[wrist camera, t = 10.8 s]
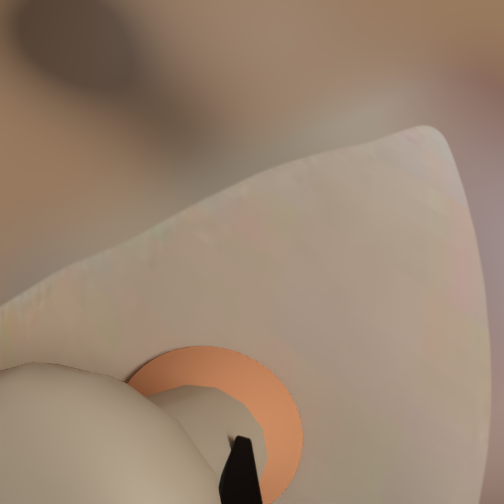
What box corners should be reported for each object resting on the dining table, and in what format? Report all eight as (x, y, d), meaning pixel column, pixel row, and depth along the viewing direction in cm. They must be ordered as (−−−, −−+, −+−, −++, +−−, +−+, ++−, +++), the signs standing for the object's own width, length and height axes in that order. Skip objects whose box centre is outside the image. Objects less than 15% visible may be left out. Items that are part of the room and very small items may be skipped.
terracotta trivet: (264, 539, 12) (265, 544, 11) (97, 472, 13) (91, 473, 13) (324, 380, 16) (327, 379, 16) (155, 323, 18) (151, 319, 17)
